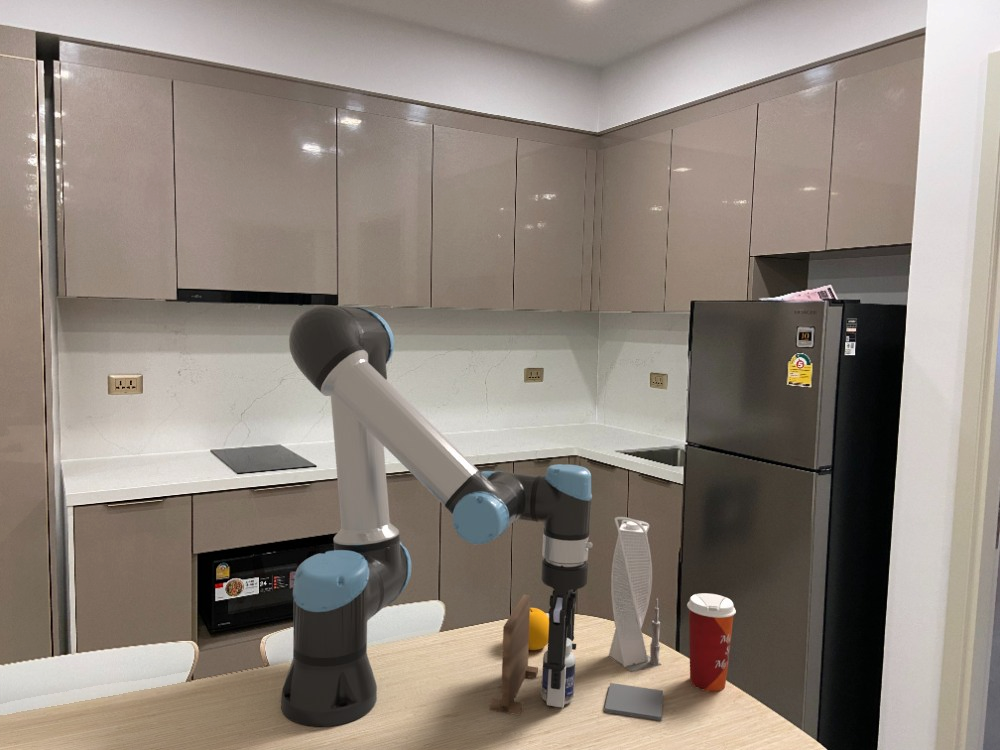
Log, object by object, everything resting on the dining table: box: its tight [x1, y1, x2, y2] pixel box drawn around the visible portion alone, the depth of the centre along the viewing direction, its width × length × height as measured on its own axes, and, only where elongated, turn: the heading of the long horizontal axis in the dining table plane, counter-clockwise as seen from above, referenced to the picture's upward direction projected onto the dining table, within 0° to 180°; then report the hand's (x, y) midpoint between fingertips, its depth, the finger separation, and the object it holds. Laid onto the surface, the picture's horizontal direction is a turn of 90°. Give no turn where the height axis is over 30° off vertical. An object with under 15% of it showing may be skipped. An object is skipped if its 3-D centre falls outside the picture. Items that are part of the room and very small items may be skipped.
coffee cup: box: [686, 592, 736, 692], centre depth 129 cm, size 8×8×15 cm
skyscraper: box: [608, 516, 662, 673], centre depth 137 cm, size 8×8×28 cm
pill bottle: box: [541, 638, 576, 705], centre depth 122 cm, size 5×5×10 cm
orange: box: [528, 607, 549, 651], centre depth 142 cm, size 8×8×8 cm
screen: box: [488, 594, 539, 716], centre depth 124 cm, size 5×15×14 cm, turn 166°
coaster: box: [604, 682, 664, 722], centre depth 122 cm, size 9×9×1 cm
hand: (558, 695), depth 122 cm, fingers closed on pill bottle, 5 cm apart
